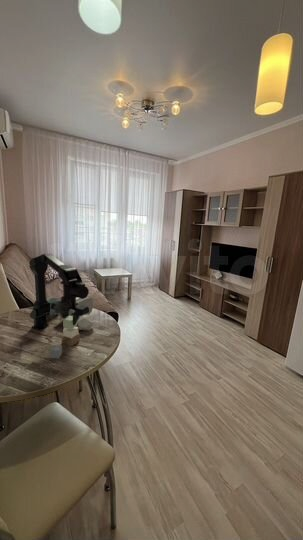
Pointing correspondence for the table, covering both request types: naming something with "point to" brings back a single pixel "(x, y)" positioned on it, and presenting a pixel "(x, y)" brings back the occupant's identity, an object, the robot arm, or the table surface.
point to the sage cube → (68, 322)
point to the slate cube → (55, 351)
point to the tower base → (70, 340)
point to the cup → (50, 300)
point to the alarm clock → (84, 302)
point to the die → (85, 322)
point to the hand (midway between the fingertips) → (70, 324)
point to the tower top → (70, 332)
